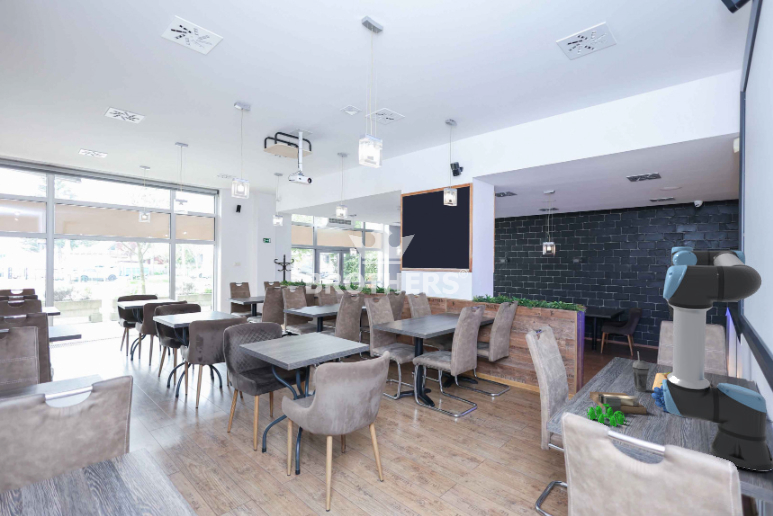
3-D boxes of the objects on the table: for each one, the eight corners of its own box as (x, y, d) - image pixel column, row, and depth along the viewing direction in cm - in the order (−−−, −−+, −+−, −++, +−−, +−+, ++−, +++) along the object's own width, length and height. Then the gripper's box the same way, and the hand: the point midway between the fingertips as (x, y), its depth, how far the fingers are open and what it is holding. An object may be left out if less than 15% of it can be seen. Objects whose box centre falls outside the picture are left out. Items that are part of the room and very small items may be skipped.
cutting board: (712, 403, 176) (712, 387, 176) (652, 392, 191) (652, 377, 191) (709, 384, 203) (709, 370, 203) (656, 375, 218) (656, 362, 218)
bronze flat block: (647, 416, 160) (647, 399, 160) (606, 413, 162) (606, 398, 162) (624, 399, 179) (624, 384, 179) (587, 397, 181) (587, 383, 181)
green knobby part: (592, 410, 166) (593, 395, 166) (631, 421, 155) (631, 405, 155) (580, 420, 156) (580, 404, 156) (620, 433, 145) (620, 415, 145)
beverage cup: (651, 393, 187) (652, 353, 187) (635, 392, 189) (635, 352, 189) (644, 388, 194) (645, 350, 194) (629, 387, 196) (629, 349, 196)
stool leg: (636, 403, 166) (636, 396, 166) (640, 406, 163) (640, 399, 163) (598, 400, 169) (598, 393, 169) (601, 403, 166) (601, 396, 166)
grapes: (652, 413, 163) (652, 386, 163) (650, 407, 169) (651, 381, 169) (685, 419, 157) (686, 391, 157) (683, 413, 163) (683, 386, 163)
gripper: (692, 281, 166) (691, 333, 166) (660, 281, 168) (660, 333, 168) (704, 282, 159) (704, 337, 159) (671, 282, 160) (671, 336, 160)
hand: (681, 335), depth 163 cm, fingers closed
